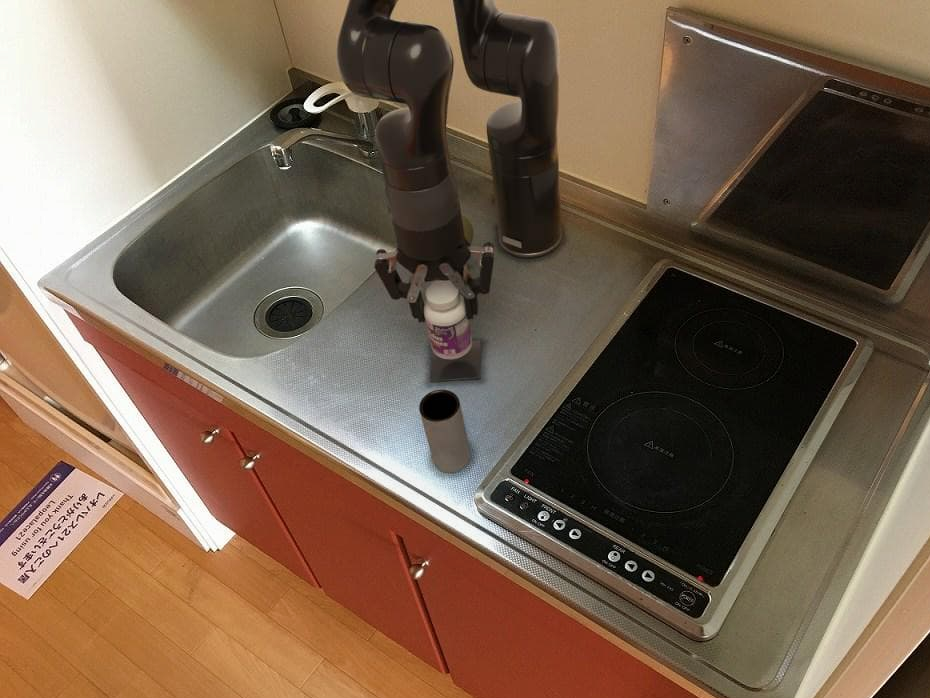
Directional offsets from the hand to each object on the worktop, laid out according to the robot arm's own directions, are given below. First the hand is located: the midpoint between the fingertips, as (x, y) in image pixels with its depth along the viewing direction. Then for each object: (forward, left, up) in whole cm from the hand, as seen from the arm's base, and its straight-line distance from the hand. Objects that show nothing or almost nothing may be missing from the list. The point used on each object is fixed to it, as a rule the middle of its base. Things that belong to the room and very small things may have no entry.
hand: (446, 315), depth 101 cm
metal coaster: (0, 0, -9) cm, 9 cm away
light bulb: (-16, +6, -9) cm, 19 cm away
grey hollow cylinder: (+14, -6, -9) cm, 18 cm away
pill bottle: (0, 0, -6) cm, 6 cm away
